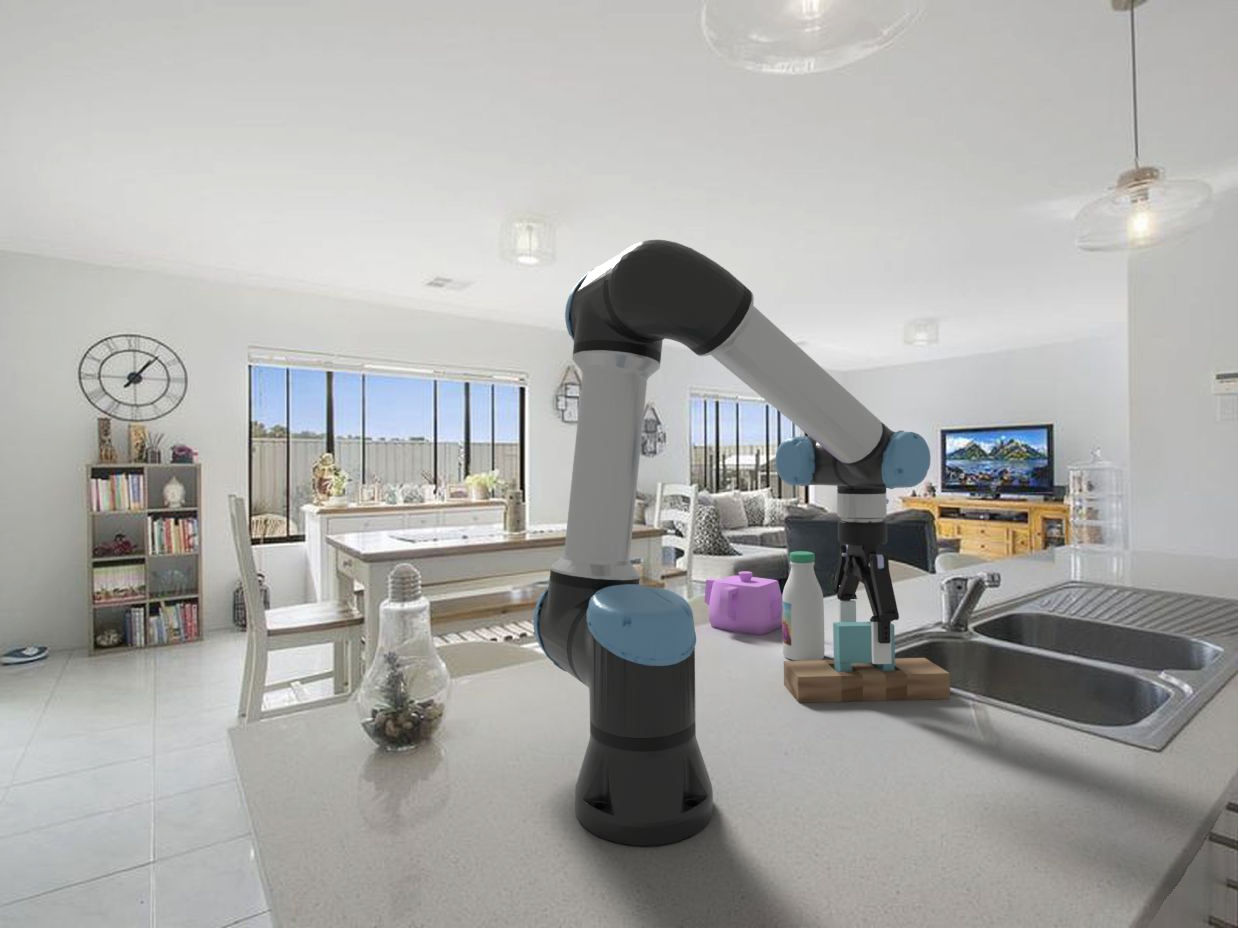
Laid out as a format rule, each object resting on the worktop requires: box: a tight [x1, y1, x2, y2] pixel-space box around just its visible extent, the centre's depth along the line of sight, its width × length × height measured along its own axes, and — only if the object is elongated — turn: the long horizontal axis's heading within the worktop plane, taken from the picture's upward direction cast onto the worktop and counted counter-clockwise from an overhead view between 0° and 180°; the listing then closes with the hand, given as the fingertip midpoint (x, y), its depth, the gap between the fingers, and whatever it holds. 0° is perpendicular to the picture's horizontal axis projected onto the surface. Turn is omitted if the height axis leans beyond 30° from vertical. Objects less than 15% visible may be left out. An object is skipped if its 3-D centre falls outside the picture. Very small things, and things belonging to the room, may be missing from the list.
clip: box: [832, 621, 896, 672], centre depth 106 cm, size 3×9×11 cm, turn 92°
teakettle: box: [703, 570, 783, 636], centre depth 148 cm, size 17×17×12 cm
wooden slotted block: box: [783, 657, 951, 703], centre depth 106 cm, size 8×24×4 cm, turn 91°
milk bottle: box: [781, 550, 825, 661], centre depth 125 cm, size 8×8×20 cm
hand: (863, 650), depth 106 cm, fingers open, 13 cm apart
